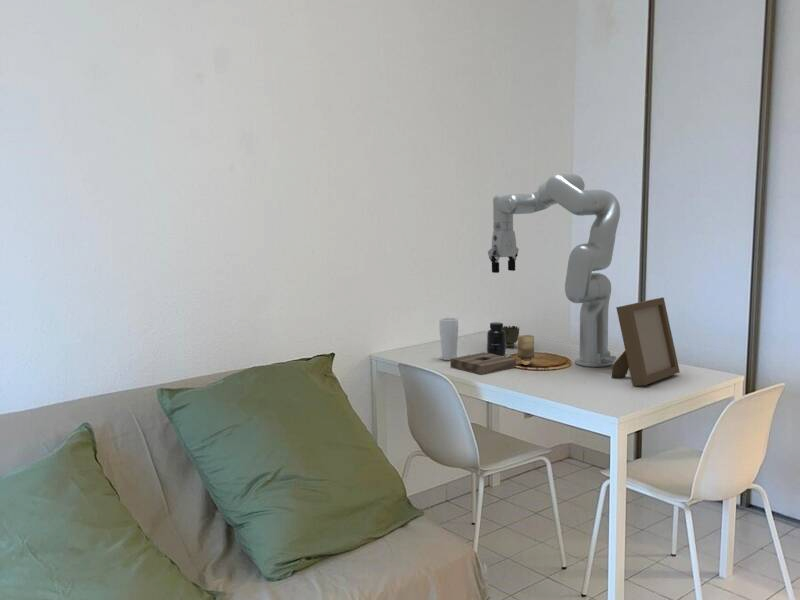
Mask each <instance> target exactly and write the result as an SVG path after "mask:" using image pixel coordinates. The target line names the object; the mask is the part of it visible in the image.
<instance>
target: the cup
mask: <svg viewBox="0 0 800 600" xmlns="http://www.w3.org/2000/svg"><path fill="white" fill-rule="evenodd" d="M502 330H504V331H505V333H506V348H509V349H510V348H511V347H512V348H515V346H516V345H515V344H516V343H518V336H520V335H519V334H520V327H518V326H516V325H512V326H511V325H509V326H507V325H503V329H502Z"/></svg>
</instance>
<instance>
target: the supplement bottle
mask: <svg viewBox="0 0 800 600" xmlns="http://www.w3.org/2000/svg"><path fill="white" fill-rule="evenodd" d="M503 327H504V323H502V322H499V321H497V322H490V323H489V330H488V331H487V333H486V335H487V336H486V337H487V340H486V342H487V344H486V351H487V352H486V353H490V354H495V355H500V356H504V357H505V355H506V348H507V347H506V333H505V331H504V330H502V329H503Z"/></svg>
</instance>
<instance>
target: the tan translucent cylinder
mask: <svg viewBox="0 0 800 600" xmlns="http://www.w3.org/2000/svg"><path fill="white" fill-rule="evenodd" d="M517 357H518V358H519V359H520V361H521V360H524V361H530V360H531V361H532V359H533V358H535V336H534V335H531V334H520V335H519V336H518V340H517Z"/></svg>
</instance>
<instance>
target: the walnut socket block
mask: <svg viewBox="0 0 800 600" xmlns="http://www.w3.org/2000/svg"><path fill="white" fill-rule="evenodd" d="M449 363H450V368H452V369H457V370H462V371H465V372H469V373H474V374H477V375H481V376H482V375H487V374H492V373H496V372H501V371H505V370H510V369H515V364H516V365H517V359H516V358H513V357H508V356H505V355H504V356H500V355H495V354H490V353H487V352H485V351H483V352H478V353H473V354H467V355H463V356H462V355H461V356H458V357H456V358H451V359H450V362H449Z"/></svg>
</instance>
